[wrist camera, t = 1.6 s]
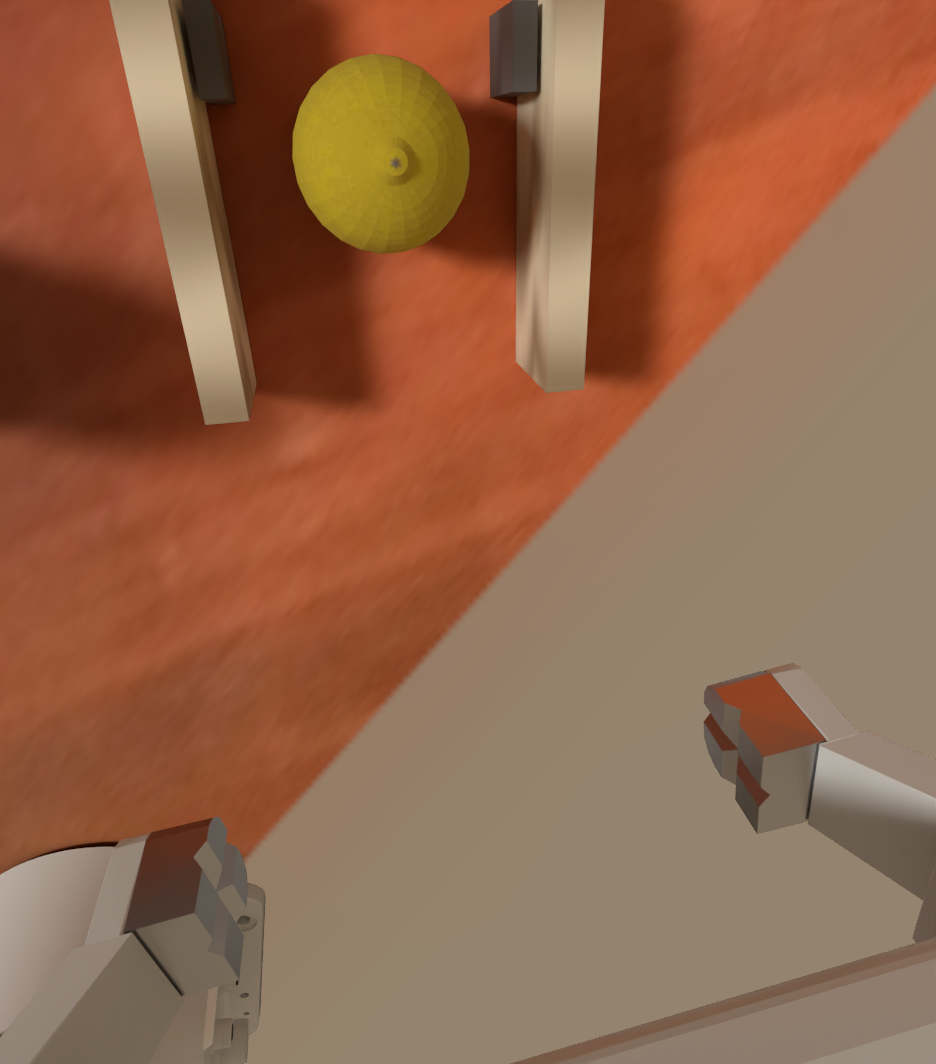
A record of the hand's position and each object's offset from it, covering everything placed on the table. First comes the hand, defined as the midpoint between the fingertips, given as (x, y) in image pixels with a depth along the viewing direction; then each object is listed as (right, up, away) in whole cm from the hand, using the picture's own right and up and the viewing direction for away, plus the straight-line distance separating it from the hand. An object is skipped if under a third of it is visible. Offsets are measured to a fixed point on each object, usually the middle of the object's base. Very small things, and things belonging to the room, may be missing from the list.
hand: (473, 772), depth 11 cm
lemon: (-4, +18, +14) cm, 23 cm away
